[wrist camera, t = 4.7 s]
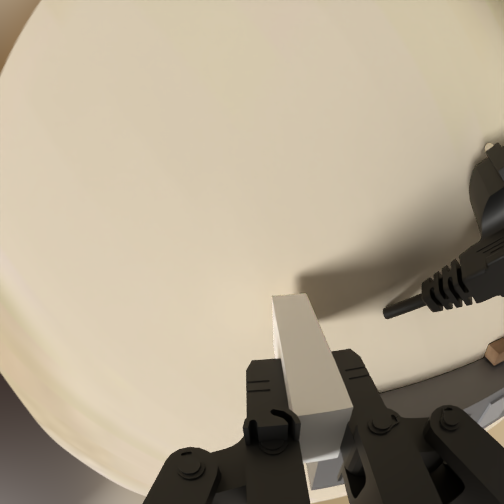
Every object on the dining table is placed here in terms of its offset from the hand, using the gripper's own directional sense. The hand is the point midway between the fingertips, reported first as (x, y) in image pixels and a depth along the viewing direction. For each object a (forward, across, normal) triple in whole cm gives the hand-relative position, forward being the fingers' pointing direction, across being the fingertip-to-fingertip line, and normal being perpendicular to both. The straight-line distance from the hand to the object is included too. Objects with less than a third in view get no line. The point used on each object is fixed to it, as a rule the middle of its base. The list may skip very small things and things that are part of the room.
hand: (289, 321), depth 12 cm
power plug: (+4, +7, 0) cm, 8 cm away
